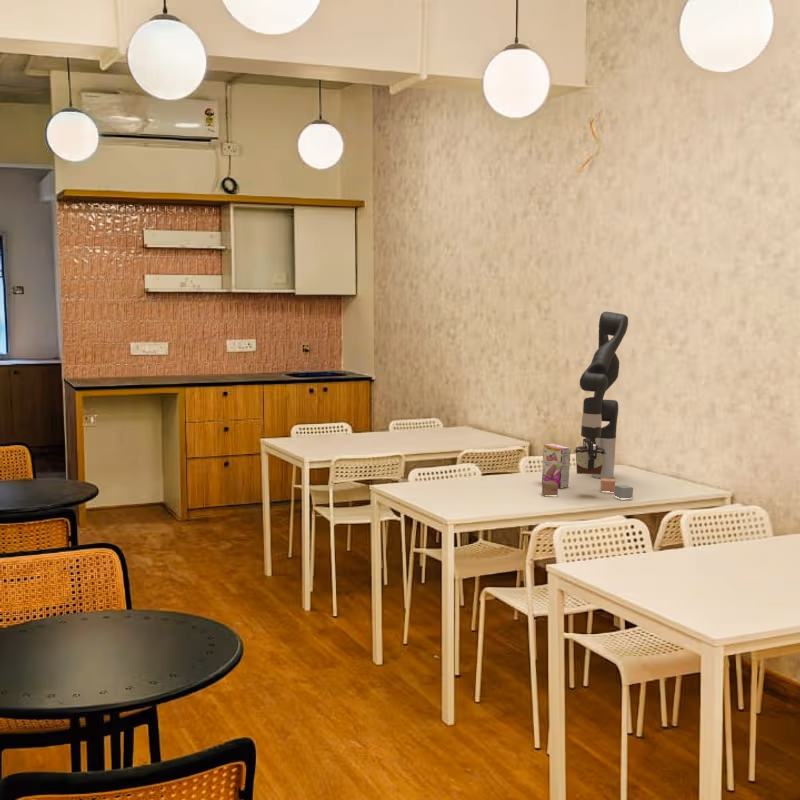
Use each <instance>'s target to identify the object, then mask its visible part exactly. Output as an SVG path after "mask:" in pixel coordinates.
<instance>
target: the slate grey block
mask: <svg viewBox="0 0 800 800" xmlns="http://www.w3.org/2000/svg"><path fill="white" fill-rule="evenodd" d="M633 493H634V487H632V486H630V485H628V484H615V491H614V495H615V496H617V497H619V498H631V497H632V498H633V496H634V495H633ZM614 495H613V496H614Z"/></svg>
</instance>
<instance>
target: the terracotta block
mask: <svg viewBox="0 0 800 800" xmlns="http://www.w3.org/2000/svg"><path fill="white" fill-rule="evenodd" d="M615 485H616V480H615V479H614V478H609V479H606V478H600V489H601V490H600V492H601V491H610V492H614V493H615Z"/></svg>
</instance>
